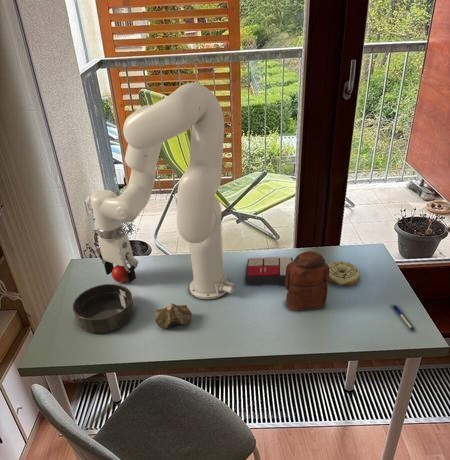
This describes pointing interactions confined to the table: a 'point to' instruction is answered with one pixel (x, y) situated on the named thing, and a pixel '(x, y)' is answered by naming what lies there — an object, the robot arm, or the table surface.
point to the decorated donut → (343, 273)
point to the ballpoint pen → (403, 317)
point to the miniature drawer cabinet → (267, 270)
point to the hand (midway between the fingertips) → (121, 276)
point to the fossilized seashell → (173, 315)
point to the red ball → (119, 273)
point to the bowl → (104, 308)
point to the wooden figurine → (307, 281)
